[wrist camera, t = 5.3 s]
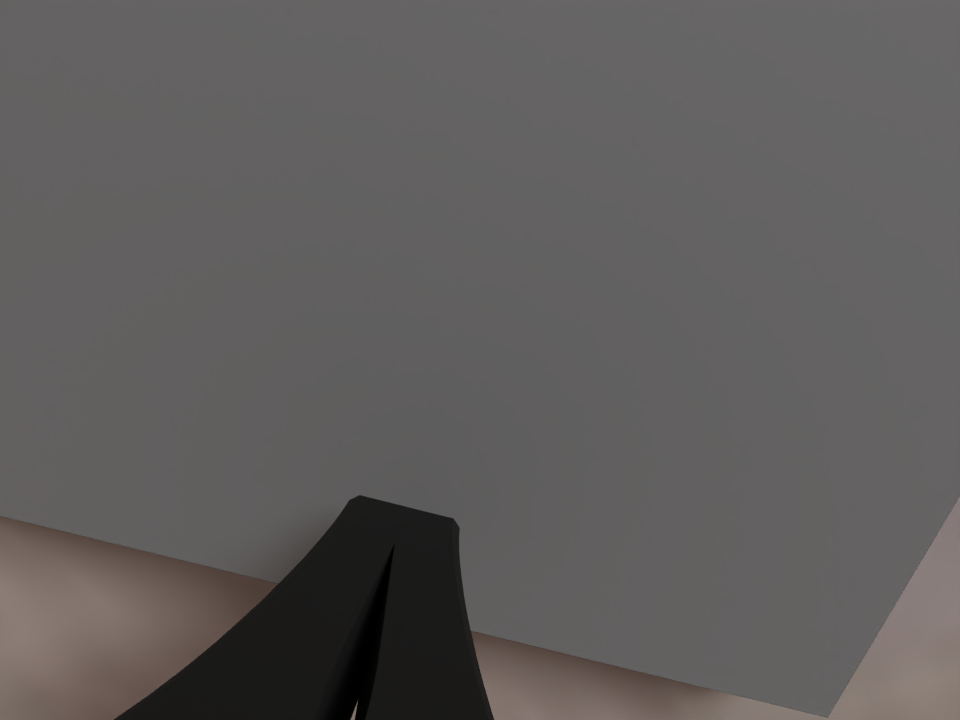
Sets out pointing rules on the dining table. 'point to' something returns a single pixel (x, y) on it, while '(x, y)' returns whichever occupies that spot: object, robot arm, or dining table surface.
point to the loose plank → (500, 303)
